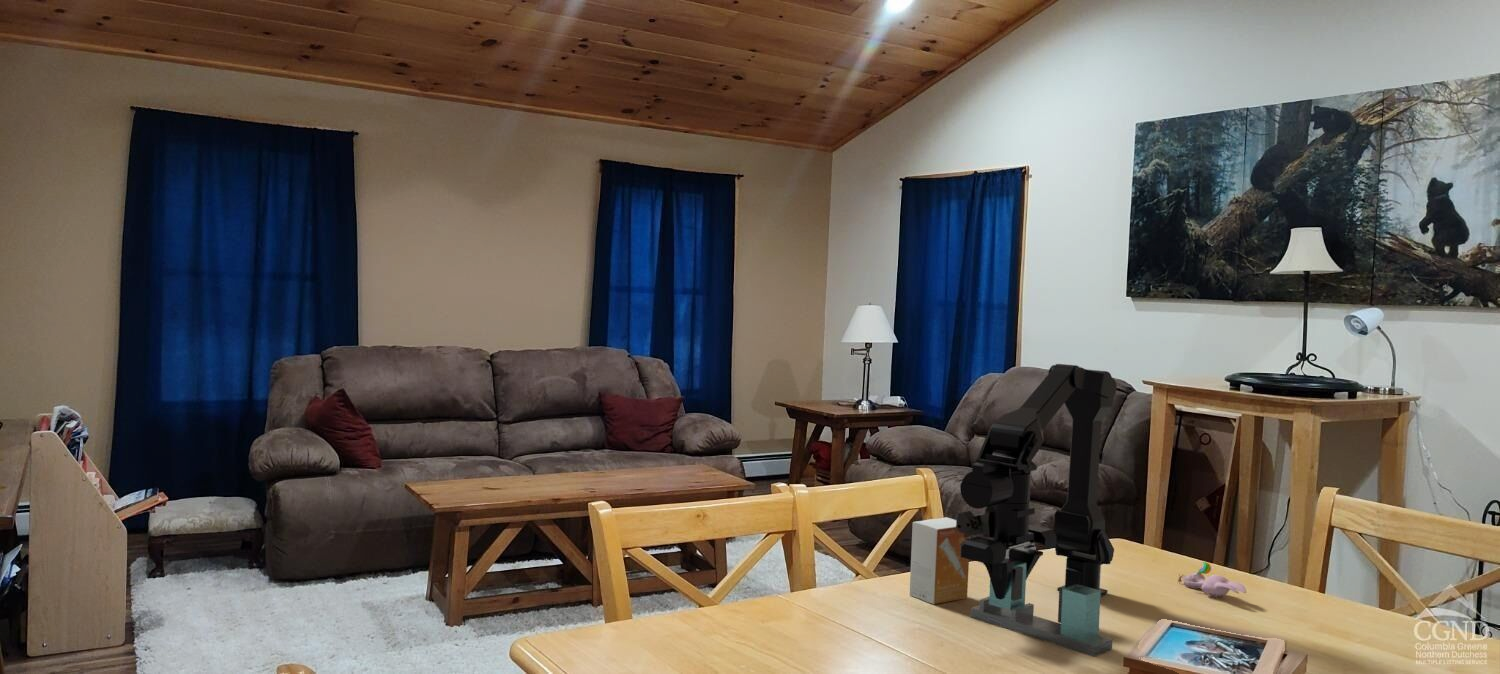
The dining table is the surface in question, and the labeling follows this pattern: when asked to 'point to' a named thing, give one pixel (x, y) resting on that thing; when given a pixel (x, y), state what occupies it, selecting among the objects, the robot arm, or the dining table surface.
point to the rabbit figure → (1210, 582)
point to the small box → (938, 561)
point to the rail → (1073, 614)
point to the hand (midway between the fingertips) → (1007, 596)
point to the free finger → (1012, 589)
